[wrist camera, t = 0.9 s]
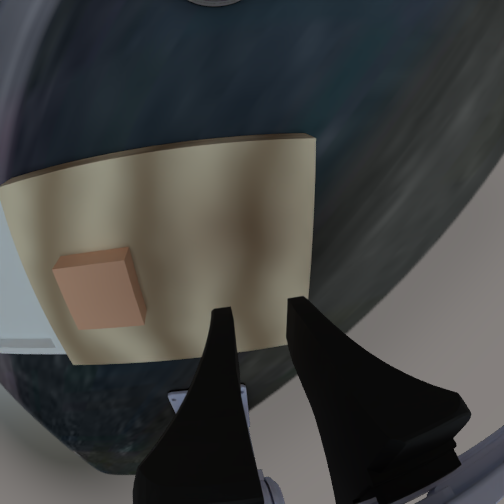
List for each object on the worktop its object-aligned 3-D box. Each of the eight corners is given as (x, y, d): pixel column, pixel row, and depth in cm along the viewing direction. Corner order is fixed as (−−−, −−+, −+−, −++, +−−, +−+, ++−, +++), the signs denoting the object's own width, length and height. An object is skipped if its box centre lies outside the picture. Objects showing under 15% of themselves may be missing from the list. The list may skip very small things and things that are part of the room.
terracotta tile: (129, 246, 18) (124, 260, 17) (146, 309, 20) (144, 325, 19) (60, 256, 17) (51, 269, 16) (83, 315, 20) (78, 329, 18)
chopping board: (304, 133, 18) (315, 138, 17) (297, 325, 26) (303, 341, 25) (11, 178, 16) (-3, 187, 14) (78, 348, 24) (73, 364, 22)
